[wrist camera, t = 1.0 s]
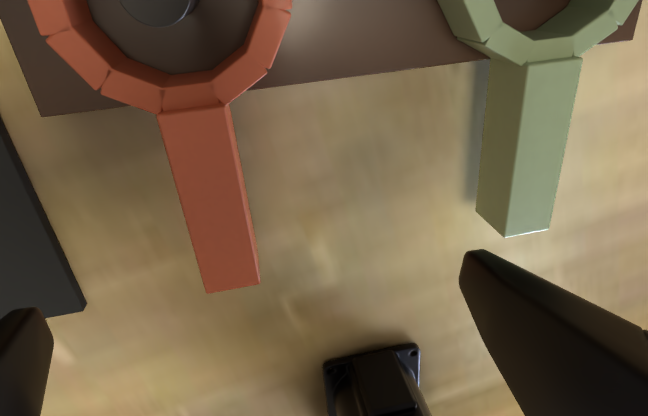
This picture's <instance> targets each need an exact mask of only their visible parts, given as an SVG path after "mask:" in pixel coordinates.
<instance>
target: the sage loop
mask: <svg viewBox="0 0 648 416" xmlns="http://www.w3.org/2000/svg"><path fill="white" fill-rule="evenodd" d="M437 1H438V3H439V5H440V7H441V9H442V11H443V13H444V16H445V18H446V20H447V22H448V24H449V26H450V28H451V30H452V32H453V34H454V36H457V39H458V40H459V41H461V42H463V43H465V44H467V45H468V46H470V47H472V48H474V49H476V50H478V51H479V52H481V53H483V54H485V55H487V56H488V57H490V58H491V59H490V69H489V79H488V89H487V99H486V109H485V119H484V129H483V139H482V150H481V160H480V170H479V180H478V190H477V200H476V212H477V213H478V214H479V215H480V216H481V217H482V218H483V219H484V220H486V221H487V222H488V223H489V224H490V225H491V226H492V227H493V228H494V229H495V230H496V231H497V232H498V233H499V234H501V235H502V236H503V237H504V238H506V237H512V236H517V235H522V234H527V233H533V232H538V231H543V230H548V229H549V227H550V222H551V217H552V212H553V207H554V202H555V197H556V192H557V187H558V182H559V177H560V172H561V167H562V162H563V157H564V152H565V147H566V142H567V137H568V132H569V127H570V122H571V117H572V112H573V107H574V102H575V97H576V92H577V87H578V82H579V77H580V72H581V67H582V62H583V58H581V57H579V56H580V55H582V54H583V53H585V52H586V51H588V50H589V49H590V48H592V47H593V46H595V45H596V44H597V43H599V42H600V41H602V40H603V39H604V38H606V37H607V36H609V35H610V34H611V33H613V32H614V31H616V30H617V29H618V26H617V25H623V23H624V22H625V20H626V19H627V17H628V16H629V14H630V13H631V11H632V10H633V8H634V7H635V5H636V4H637V2H638V1H639V0H571V1H570V2H569V4H568V6H567V7H566V8H565V9H563V10H562V11H561V12H559V13H558V14H557V15H555V16H554V17H553V18H551V19H550V20H548V21H547V22H546V23H544V24H543V25H542V26H540V27H539V28H537V29H536V30H532V31H524V32H519V31H517V30H515V29H514V28H512V27H510V26H509V25H507V24H505V23H504V22H502V19H501V17H500V14H499V12H498V10H497V7H496V5H495V2H494V0H437Z"/></svg>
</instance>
